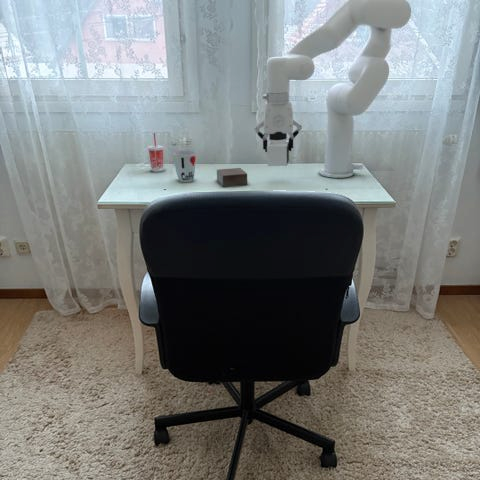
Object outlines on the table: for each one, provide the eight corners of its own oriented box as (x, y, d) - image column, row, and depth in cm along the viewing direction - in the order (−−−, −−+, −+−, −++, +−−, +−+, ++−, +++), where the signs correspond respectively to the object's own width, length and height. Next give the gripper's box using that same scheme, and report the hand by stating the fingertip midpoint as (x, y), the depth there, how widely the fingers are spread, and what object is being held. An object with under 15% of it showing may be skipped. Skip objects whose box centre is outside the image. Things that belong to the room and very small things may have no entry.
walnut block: (240, 178, 192) (240, 167, 190) (247, 184, 185) (247, 173, 183) (216, 180, 190) (216, 169, 188) (223, 187, 183) (222, 175, 181)
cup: (179, 184, 186) (178, 156, 181) (171, 179, 192) (169, 151, 187) (200, 181, 189) (199, 153, 184) (191, 176, 196) (190, 149, 191)
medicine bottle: (287, 166, 182) (287, 130, 176) (267, 166, 183) (266, 131, 177) (289, 160, 188) (289, 126, 182) (269, 160, 189) (268, 126, 183)
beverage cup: (166, 168, 206) (163, 131, 199) (164, 172, 201) (161, 134, 194) (150, 168, 206) (147, 131, 199) (148, 172, 201) (145, 134, 194)
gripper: (252, 100, 171) (254, 154, 180) (305, 98, 171) (303, 152, 180) (252, 97, 178) (253, 149, 187) (302, 95, 178) (301, 147, 187)
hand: (278, 150), depth 183 cm, fingers closed on medicine bottle, 8 cm apart
